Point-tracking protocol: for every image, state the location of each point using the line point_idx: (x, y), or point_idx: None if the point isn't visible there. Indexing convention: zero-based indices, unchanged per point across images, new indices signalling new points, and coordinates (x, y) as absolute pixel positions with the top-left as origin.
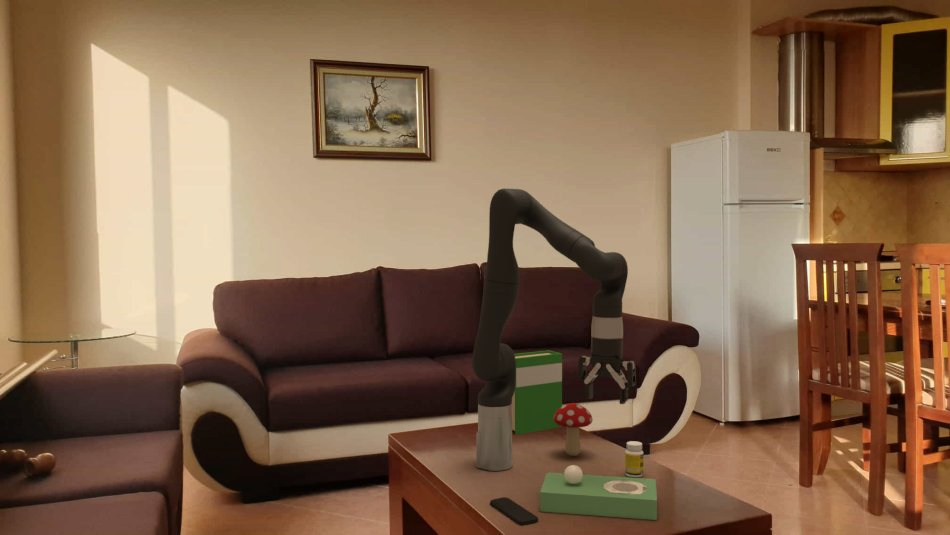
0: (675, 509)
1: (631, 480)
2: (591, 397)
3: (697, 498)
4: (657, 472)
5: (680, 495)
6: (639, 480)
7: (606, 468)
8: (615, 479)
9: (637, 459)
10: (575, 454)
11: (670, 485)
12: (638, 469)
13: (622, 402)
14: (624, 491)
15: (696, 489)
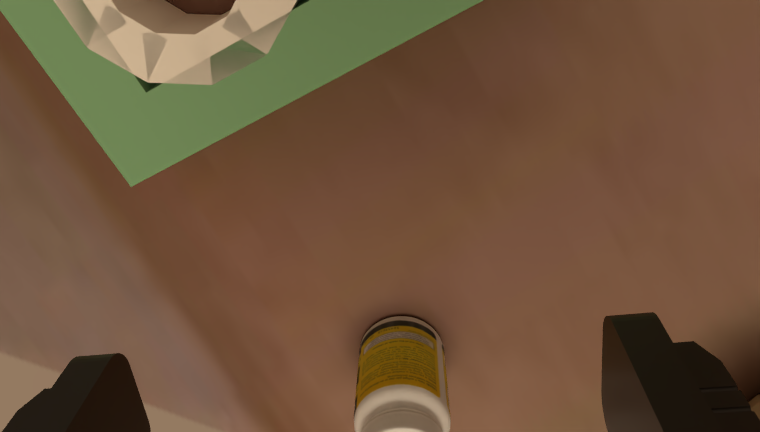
0: (6, 73)
1: (212, 88)
2: (607, 380)
3: (30, 255)
4: (336, 424)
5: (102, 245)
6: (180, 117)
7: (548, 350)
8: (291, 45)
9: (366, 381)
10: (751, 401)
11: (206, 324)
12: (365, 352)
13: (71, 370)
14: (227, 13)
15: (100, 343)
